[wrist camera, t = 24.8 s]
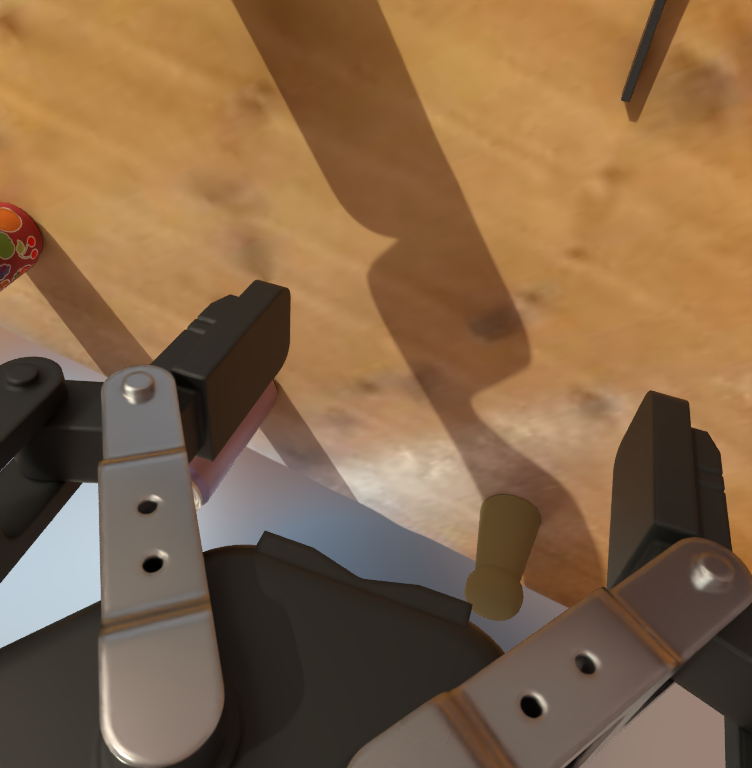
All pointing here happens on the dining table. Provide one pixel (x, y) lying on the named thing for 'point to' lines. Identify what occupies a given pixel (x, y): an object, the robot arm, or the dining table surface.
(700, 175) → the dining table surface
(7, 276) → the smoothie
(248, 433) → the beverage can
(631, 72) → the spoon
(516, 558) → the cork
